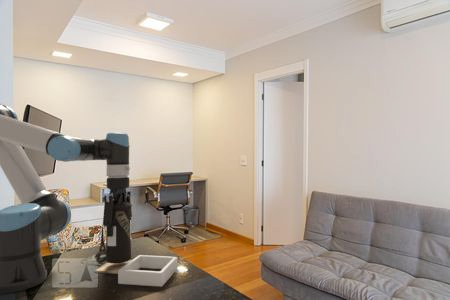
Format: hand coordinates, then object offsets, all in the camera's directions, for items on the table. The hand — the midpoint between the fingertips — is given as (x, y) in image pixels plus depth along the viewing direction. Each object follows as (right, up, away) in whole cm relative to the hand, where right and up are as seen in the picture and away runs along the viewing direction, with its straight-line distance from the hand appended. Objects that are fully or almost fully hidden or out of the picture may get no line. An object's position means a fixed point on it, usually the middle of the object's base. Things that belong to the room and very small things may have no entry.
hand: (118, 241), depth 103 cm
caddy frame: (+13, -8, -8) cm, 17 cm away
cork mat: (0, -9, 0) cm, 9 cm away
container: (0, -6, 0) cm, 6 cm away
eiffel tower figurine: (-10, -10, +10) cm, 17 cm away
